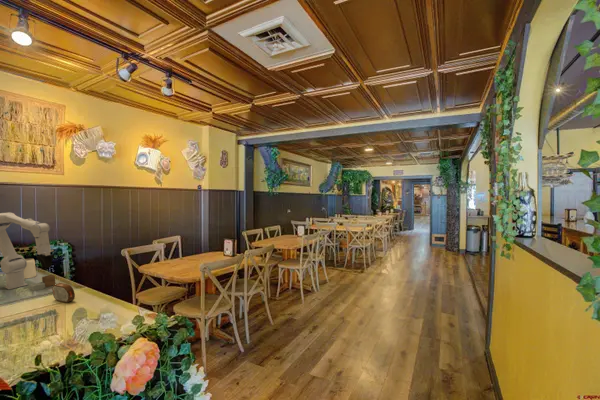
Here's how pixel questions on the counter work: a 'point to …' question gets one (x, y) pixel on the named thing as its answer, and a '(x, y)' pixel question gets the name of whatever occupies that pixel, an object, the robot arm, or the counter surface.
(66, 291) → the tin
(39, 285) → the slate block
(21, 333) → the counter surface
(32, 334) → the counter surface
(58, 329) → the counter surface
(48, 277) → the walnut block
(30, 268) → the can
